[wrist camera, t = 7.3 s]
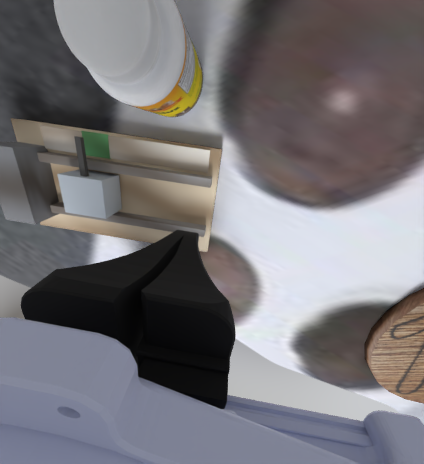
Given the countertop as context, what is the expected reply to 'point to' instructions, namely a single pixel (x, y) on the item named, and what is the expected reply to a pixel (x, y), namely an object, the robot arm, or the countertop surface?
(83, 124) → the countertop surface
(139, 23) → the supplement bottle
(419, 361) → the trivet
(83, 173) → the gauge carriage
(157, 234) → the gauge base
